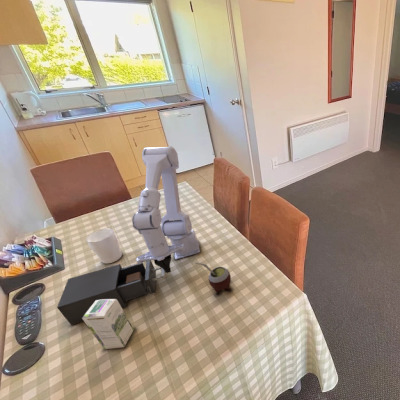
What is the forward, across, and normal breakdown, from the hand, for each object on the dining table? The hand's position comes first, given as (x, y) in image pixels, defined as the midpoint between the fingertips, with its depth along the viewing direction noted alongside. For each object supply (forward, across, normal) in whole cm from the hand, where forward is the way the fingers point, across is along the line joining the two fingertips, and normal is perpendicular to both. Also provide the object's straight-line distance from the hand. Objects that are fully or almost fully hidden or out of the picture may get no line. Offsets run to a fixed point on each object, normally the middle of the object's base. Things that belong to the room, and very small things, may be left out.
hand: (168, 270), depth 97 cm
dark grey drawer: (+3, -10, 0) cm, 10 cm away
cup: (+4, -21, +24) cm, 32 cm away
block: (+2, -11, 0) cm, 11 cm away
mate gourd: (+4, +16, -14) cm, 21 cm away
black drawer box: (+4, -21, 0) cm, 22 cm away
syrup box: (+4, -14, -19) cm, 24 cm away
